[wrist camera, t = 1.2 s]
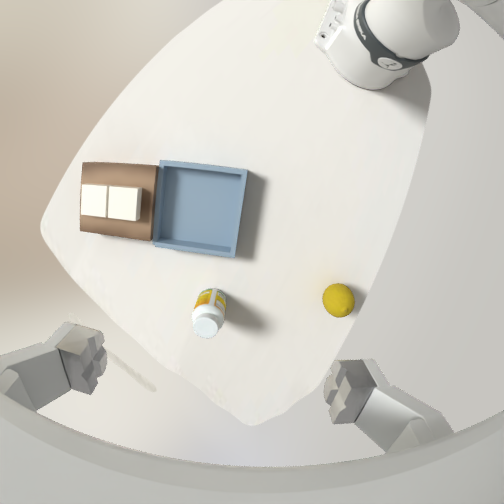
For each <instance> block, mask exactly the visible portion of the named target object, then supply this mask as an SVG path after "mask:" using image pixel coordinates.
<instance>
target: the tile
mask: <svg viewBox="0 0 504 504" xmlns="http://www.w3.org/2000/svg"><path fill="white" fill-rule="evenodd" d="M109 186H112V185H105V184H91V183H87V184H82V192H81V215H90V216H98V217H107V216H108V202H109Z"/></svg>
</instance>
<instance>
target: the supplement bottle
mask: <svg viewBox="0 0 504 504" xmlns="http://www.w3.org/2000/svg"><path fill="white" fill-rule="evenodd" d="M225 310H226V297H225V295H224V294H223V293H222V292H221V291H220V290H218V289H215V288H208V289H205V290H203V291H202V292H201V293H200V294H199V296H198V299H197V302H196V305H195V308H194V310H193V313H192V321H193V329H194V332H195V333H196V334H197V335H198V336H200V337H202V338H212V337H214V336H215V335H216V334H217V332H218V330H219V329H220V328H221V327H222V325H223V323H224V317H225Z"/></svg>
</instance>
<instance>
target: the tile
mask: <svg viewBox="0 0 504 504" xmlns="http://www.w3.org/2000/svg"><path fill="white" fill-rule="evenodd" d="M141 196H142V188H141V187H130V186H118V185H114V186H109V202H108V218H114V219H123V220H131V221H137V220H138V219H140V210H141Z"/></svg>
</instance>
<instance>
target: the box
mask: <svg viewBox="0 0 504 504" xmlns="http://www.w3.org/2000/svg"><path fill="white" fill-rule="evenodd" d="M247 172H248V170H245V169H238V168H231V167H223V166H215V165H207V164H198V163H189V162H179V161H167V160H160V164H159V172H158V181H157V191H156V202H155V214H154V229H153V244H154V245H155V247H161V248H167V249H174V250H181V251H188V252H195V253H202V254H209V255H216V256H223V257H230V258H235V252H236V245H237V238H238V231H239V224H240V217H241V211H242V204H243V198H244V191H245V185H246V178H247Z"/></svg>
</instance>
